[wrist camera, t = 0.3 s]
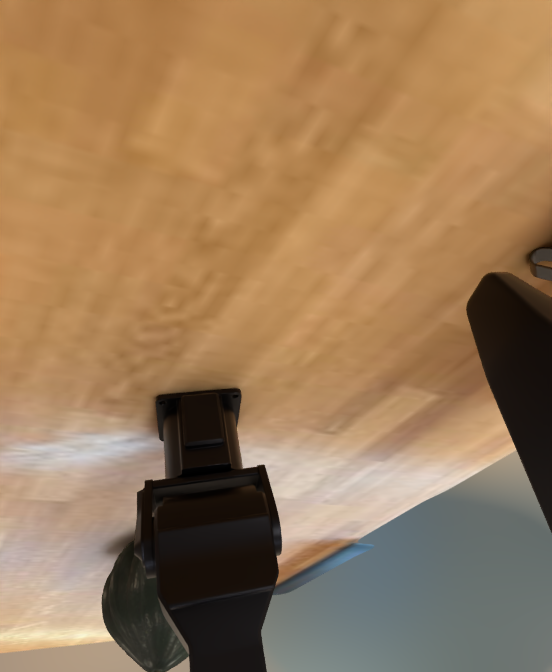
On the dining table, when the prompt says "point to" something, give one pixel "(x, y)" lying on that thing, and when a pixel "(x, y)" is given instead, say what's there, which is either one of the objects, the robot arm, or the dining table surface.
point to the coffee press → (540, 270)
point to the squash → (139, 616)
